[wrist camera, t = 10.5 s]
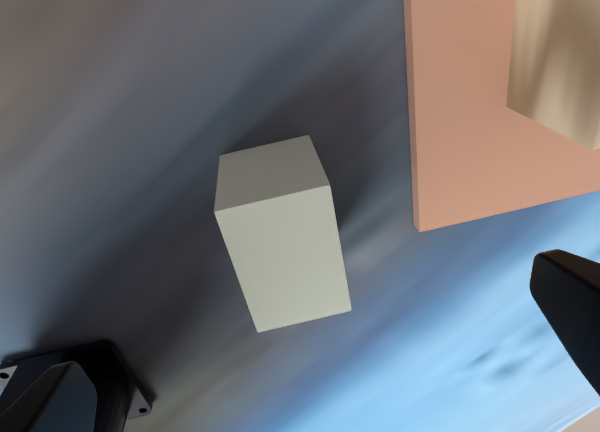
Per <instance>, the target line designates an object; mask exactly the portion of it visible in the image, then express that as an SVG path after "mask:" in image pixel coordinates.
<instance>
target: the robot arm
mask: <svg viewBox="0 0 600 432" xmlns="http://www.w3.org/2000/svg"><path fill="white" fill-rule="evenodd" d="M530 291H531V294H532V296H533V298H534V300H535V301H536V303H537V305H538V306H539V308H540V309H541V311H542V313H543V314H544V316H545V317H546V319H547V321H548V322H549V324H550V325H551V327H552V328H553V330H554V332H555V333H556V335H557V336H558V338H559V340H560V341H561V343H562V344H563V346H564V348H565V349H566V351H567V352H568V354H569V355H570V357H571V358H572V360H573V361H574V363H575V364H576V366H577V367H578V368H579V370H580V371H581V372H582V374H583V375H584V376H585V378H586V379H587V380H588V382H589V383H590V384H591V385H592V387H593V388H594V389H595V391H596V392H597V393H598V394H599V396H600V263H597V262H594V261H591V260H588V259H586V258H583V257H580V256H577V255H574V254H571V253H569V252H566V251H563V250H558V249H555V250H550V251H546V252H542V253H539V254H537V255H536V256H535V258H534V261H533V267H532V273H531V279H530ZM103 349H105V350H103ZM0 384H1V385H2V386H3V387H4V388H5V389H4V390H3V392H2V394H1V396H0V432H123V431H124V427H125V423H126V420H128V419H132V418H136V417H140V416H145V415H148V414H150V413H151V410H152V405H153V404H152V402H151V400H150V399H149V397H148V396H147V394H146V393H145V391H144V390H143V388H142V387H141V385H140V384H139V382H138V380H137V379H136V377H135V376H134V374H133V373H132V371H131V370H130V368H129V367H128V365H127V364H126V362H125V361H124V359H123V357H122V356H121V354H120V353H119V351H118V350H117V348H116V347H115V345H114V344H113V343H112V342H110V341H106V340H103V341H98V342H93V343H89V344H85V345H81V346H76V347H72V348H68V349H63V350H59V351H55V352H51V353H46V354H42V355H38V356H34V357H29V358H25V359H21V360H16V361H12V362H8V363H4V364H1V365H0Z"/></svg>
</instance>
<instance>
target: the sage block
mask: <svg viewBox="0 0 600 432" xmlns="http://www.w3.org/2000/svg"><path fill="white" fill-rule="evenodd" d="M214 214H215V216H216V219H217V222H218V225H219V227H220V230H221V233H222V236H223V238H224V241H225V244H226V247H227V249H228V252H229V255H230V258H231V260H232V263H233V266H234V269H235V271H236V274H237V277H238V280H239V283H240V285H241V288H242V291H243V294H244V296H245V299H246V302H247V305H248V307H249V310H250V313H251V316H252V318H253V321H254V324H255V327H256V329H257V332H258V333H259V332H263V331H267V330H271V329H275V328H280V327H284V326H288V325H292V324H297V323H301V322H305V321H309V320H314V319H318V318H322V317H326V316H331V315H335V314H339V313H343V312H347V311H352V309H351V303H350V298H349V292H348V286H347V280H346V274H345V269H344V263H343V257H342V251H341V245H340V239H339V234H338V228H337V222H336V216H335V210H334V205H333V199H332V193H331V187H330V183H329V181H328V179H327V176H326V174H325V172H324V169H323V167H322V165H321V162H320V160H319V158H318V155H317V153H316V151H315V148H314V146H313V144H312V141H311V139H310V137H309V135H305V136H301V137H297V138H292V139H288V140H284V141H280V142H275V143H271V144H267V145H262V146H258V147H254V148H249V149H245V150H241V151H236V152H232V153H228V154H224V155H220V160H219V169H218V178H217V188H216V197H215V206H214Z"/></svg>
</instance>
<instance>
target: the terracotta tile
mask: <svg viewBox="0 0 600 432" xmlns="http://www.w3.org/2000/svg"><path fill="white" fill-rule="evenodd" d="M514 11H515V0H404V21H405V43H406V65H407V86H408V108H409V130H410V151H411V173H412V195H413V216H414V225H415V226H416V228H417V229H418V231H419V232H423V231H428V230H432V229H436V228H441V227H445V226H449V225H453V224H458V223H462V222H466V221H471V220H475V219H479V218H483V217H488V216H492V215H496V214H501V213H505V212H509V211H514V210H518V209H522V208H526V207H531V206H535V205H539V204H544V203H548V202H552V201H556V200H561V199H565V198H569V197H574V196H578V195H582V194H586V193H591V192H595V191H599V190H600V149H596V150H591V149H589V148H587V147H585V146H583V145H581V144H579V143H577V142H575V141H573V140H571V139H569V138H567V137H565V136H563V135H561V134H559V133H557V132H555V131H553V130H551V129H549V128H547V127H545V126H543V125H541V124H539V123H537V122H535V121H533V120H531V119H529V118H527V117H525V116H523V115H521V114H519V113H517V112H515V111H513V110H511V109H509V108H507V107H506V103H507V91H508V80H509V69H510V57H511V46H512V34H513V23H514Z"/></svg>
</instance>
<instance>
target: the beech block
mask: <svg viewBox="0 0 600 432" xmlns="http://www.w3.org/2000/svg"><path fill="white" fill-rule="evenodd" d="M506 107H507V108H509V109H511V110H513V111H515V112H517V113H519V114H521V115H523V116H525V117H527V118H529V119H531V120H533V121H535V122H537V123H539V124H541V125H543V126H545V127H547V128H549V129H551V130H553V131H555V132H557V133H559V134H561V135H563V136H565V137H567V138H569V139H571V140H573V141H575V142H577V143H579V144H581V145H583V146H585V147H587V148H589V149H591V150H596V149H600V0H515V11H514V23H513V34H512V46H511V57H510V69H509V80H508V91H507V103H506Z"/></svg>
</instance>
